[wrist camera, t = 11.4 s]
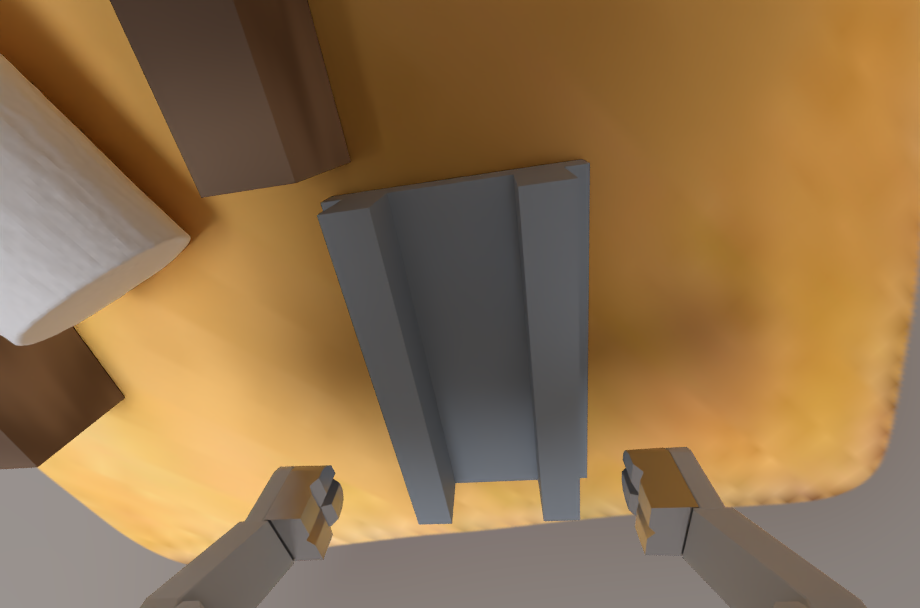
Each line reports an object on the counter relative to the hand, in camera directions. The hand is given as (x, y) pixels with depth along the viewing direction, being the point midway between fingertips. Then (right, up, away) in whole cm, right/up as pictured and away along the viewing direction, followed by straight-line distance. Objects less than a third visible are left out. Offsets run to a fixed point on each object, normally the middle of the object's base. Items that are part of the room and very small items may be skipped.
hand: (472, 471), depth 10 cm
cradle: (0, +3, +5) cm, 6 cm away
